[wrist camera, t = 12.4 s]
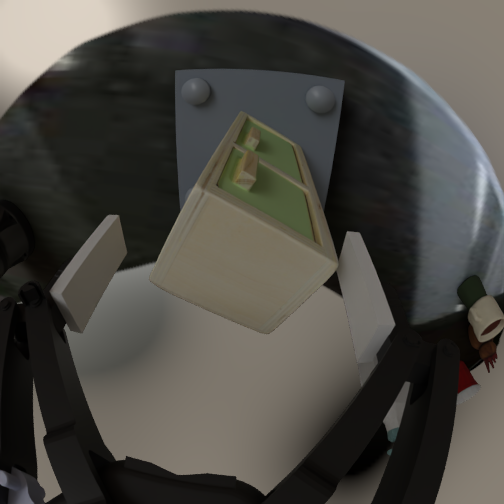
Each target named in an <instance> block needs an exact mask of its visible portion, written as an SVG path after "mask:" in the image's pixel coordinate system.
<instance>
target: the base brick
mask: <svg viewBox="0 0 504 504" xmlns="http://www.w3.org/2000/svg"><path fill="white" fill-rule="evenodd" d="M344 82H345V81H343V80H338V79H333V78H327V77H321V76H314V75H307V74H299V73H290V72H280V71H267V70H251V69H190V70H176V71H175V105H176V143H177V165H178V182H179V196H180V209H181V210H182V208H183V206H184V204H185V202H186V201H187V199H188V197H189V195H190V193H191V191H192V189H193V187H194V186H195V184H196V182H197V180H198V179H199V177H200V175H201V174H202V172H203V170H204V169H205V167H206V165H207V164H208V162H209V160H210V159H211V157H212V155H213V154H214V152H215V151H216V149H217V147H218V146H219V144H220V143H221V141H222V139H223V138H224V136H225V135H226V133H227V132H228V130H229V128H230V127H231V125H232V124H233V122H234V120H235V119H236V117H237V116H238V114H239V113H240V111H243V112H245V113H247V114H249V115H250V116H252V117H254V118H256V119H257V120H259V121H261V122H262V123H264V124H266V125H267V126H269V127H271V128H272V129H274V130H276V131H277V132H279V133H281V134H282V135H284V136H285V137H287V138H289V139H290V140H292V141H293V142H295V143H297V144H298V145H299V146H301V148H302V151H303V153H304V156H305V159H306V161H307V165H308V167H309V170H310V173H311V176H312V179H313V182H314V185H315V188H316V191H317V194H318V197H319V200H320V203H321V206H322V209H323V212H324V207H325V202H326V197H327V192H328V186H329V181H330V175H331V170H332V164H333V158H334V152H335V146H336V140H337V133H338V127H339V120H340V113H341V105H342V98H343V90H344Z"/></svg>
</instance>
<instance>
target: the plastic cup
mask: <svg viewBox="0 0 504 504" xmlns="http://www.w3.org/2000/svg"><path fill="white" fill-rule="evenodd" d="M480 388H481V386H480V385H479V384H478V383H477V382H476V381H475V380H474V378H473V376H472V375H471V373H470V371H469V369H468V368H467V367H466V365H465V363H464V362H463V361H460V366H459V383H458V394H457V404H456V405H458V404H460V403H463V402H465V401H467V400H468V399H470V398H471V397H472V396H474V395H475V394H476V393H477V392H478V391H479V390H480Z"/></svg>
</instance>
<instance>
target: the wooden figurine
mask: <svg viewBox="0 0 504 504" xmlns="http://www.w3.org/2000/svg"><path fill="white" fill-rule="evenodd" d="M468 335H469V340H470V342H471V345H472V346H473V347H474V348H475V349H477V350H478V349H479V354H480V357H481V358H482V359H483V360H484V362H485V365H486V367H487V370H488V373H489V372H490V370H489V362H490V364H491V365H492V367H493V368H494V365H493V361H494V362H496V361H495V358H496V359H497V354H496V345H495V343H494V342H493V338H491V339H490V340H488V341H485V342H479V341H478V339H477V337H476V335H475V333H474V329H473V326H472V325H471V323H470V325H469V327H468ZM492 360H493V361H492Z"/></svg>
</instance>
